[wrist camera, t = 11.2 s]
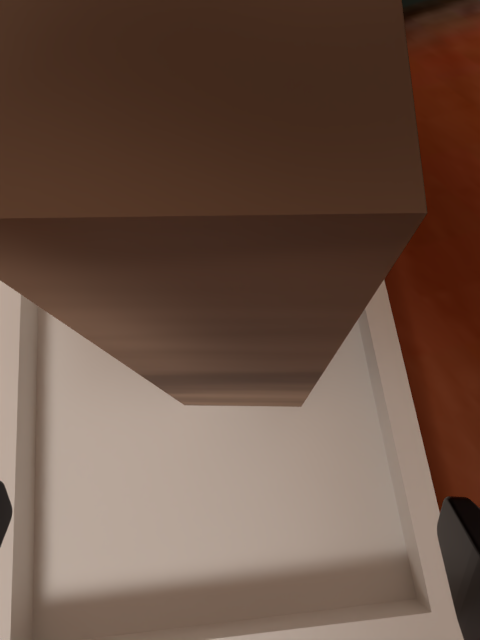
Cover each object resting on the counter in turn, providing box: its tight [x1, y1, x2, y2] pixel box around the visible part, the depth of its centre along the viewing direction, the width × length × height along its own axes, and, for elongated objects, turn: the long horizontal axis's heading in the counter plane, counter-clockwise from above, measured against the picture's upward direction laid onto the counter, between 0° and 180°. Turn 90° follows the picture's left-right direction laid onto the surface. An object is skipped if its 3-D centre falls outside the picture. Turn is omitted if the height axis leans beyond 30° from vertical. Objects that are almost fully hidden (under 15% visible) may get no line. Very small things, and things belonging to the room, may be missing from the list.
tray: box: [0, 280, 464, 640], centre depth 18 cm, size 18×16×2 cm
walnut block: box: [0, 0, 427, 407], centre depth 12 cm, size 5×5×15 cm
